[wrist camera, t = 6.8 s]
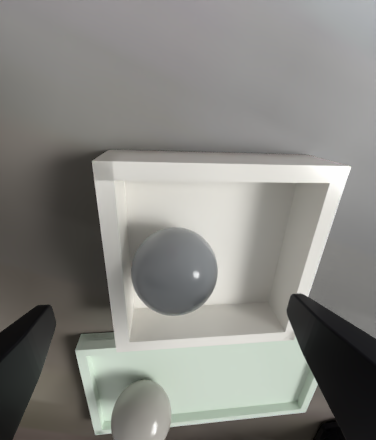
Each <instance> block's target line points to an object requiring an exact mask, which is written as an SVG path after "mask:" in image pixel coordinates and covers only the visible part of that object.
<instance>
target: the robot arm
mask: <svg viewBox="0 0 376 440" xmlns="http://www.w3.org/2000/svg"><path fill="white" fill-rule="evenodd" d="M287 316H288V319H289V321H290V324H291V326H292V329H293V331H294V334H295V336H296V339H297V341H298V344H299V346H300V349H301V351H302V353H303V356H304V358H305V360H306V362H307V364H308V366H309V368H310V370H311V372H312V374H313V376H314V377H315V379H316V381H317V383H318V385H319V387H320V389H321V391H322V393H323V395H324V397H325V399H326V401H327V403H328V405H329V407H330V409H331V411H332V413H333V415H334V417H335V419H336V421H337V422H331V423H325V424H323V425H322V426H321V427H320V429H319V431H318V433H317V435H316V437H315V439H314V440H376V339H375V338H374V337H372V336H370V335H369V334H367V333H365V332H364V331H362V330H361V329H359V328H357V327H356V326H354V325H353V324H351V323H349V322H348V321H346V320H344V319H343V318H341V317H340V316H338V315H336V314H335V313H333V312H332V311H330V310H328V309H327V308H325V307H323V306H322V305H320V304H319V303H317V302H315V301H314V300H312V299H311V298H309V297H307V296H306V295H304V294H301V293H297V294H292V295H291V296H290V299H289V302H288V306H287ZM55 327H56V320H55V317H54V313H53V309H52V306H51V305H38V306H36V307H34V308H33V309H32V310H30V311H29V312H28V313H26V314H25V315H23V316H22V317H21V318H19V319H18V320H17V321H15V322H14V323H13V324H11V325H10V326H8V327H7V328H6V329H4V330H3V331H2V332H0V440H13V437H14V435H15V433H16V430H17V428H18V426H19V423H20V421H21V419H22V416H23V414H24V412H25V409H26V407H27V405H28V402H29V400H30V398H31V396H32V393H33V391H34V389H35V386H36V384H37V382H38V379H39V377H40V374H41V371H42V368H43V365H44V362H45V359H46V356H47V353H48V350H49V346H50V343H51V340H52V337H53V334H54V331H55Z"/></svg>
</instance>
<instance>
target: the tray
mask: <svg viewBox="0 0 376 440" xmlns="http://www.w3.org/2000/svg"><path fill="white" fill-rule="evenodd" d="M75 353H76V357H77V361H78V365H79V369H80V374H81V378H82V382H83V386H84V390H85V395H86V399H87V403H88V407H89V411H90V416H91V420H92V424H93V428H94V432H95V435H101V434H111V433H112V432H111V416H112V411H113V408H114V405H115V402H116V400H117V398H118V397H119V395H120V394H121V393H122V391H123V390H124V389H125V388H126V387H127V386H129V385H130V384H132V383H134V382H136V381H139V380H151V381H154V382H156V383H158V384H159V385H160V386H161V387H162V388H163V389H164V390H165V392H166V393H167V395H168V397H169V400H170V404H171V412H172V416H171V424H170V427H175V426H184V425H194V424H203V423H212V422H221V421H231V420H240V419H249V418H258V417H267V416H277V415H286V414H295V413H304V412H306V410H307V408H308V406H309V403H310V401H311V399H312V396H313V394H314V392H315V390H316V387H317V385H318V383H317V381H316V379H315V377H314V376H313V374H312V372H311V370H310V368H309V366H308V364H307V362H306V360H305V358H304V356H303V353H302V351H301V349H300V346H299V344H298V341H297V339H296V336H295V339H294V340H286V341H272V342H258V343H244V344H229V345H215V346H201V347H187V348H172V349H158V350H144V351H129V352H117V351H116V344H115V336H114V332H105V333H89V334H81V335H80V338H79V341H78V344H77V346H76V349H75Z"/></svg>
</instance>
